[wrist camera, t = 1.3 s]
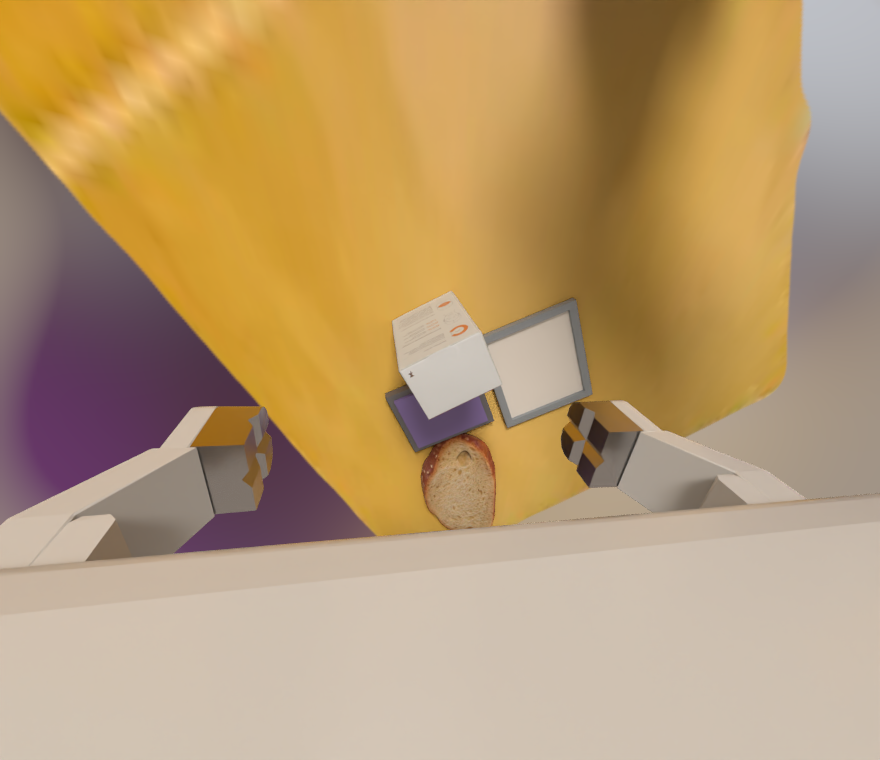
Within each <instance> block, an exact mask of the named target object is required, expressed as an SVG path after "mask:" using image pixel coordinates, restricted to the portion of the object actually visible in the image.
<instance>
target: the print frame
mask: <svg viewBox="0 0 880 760" xmlns="http://www.w3.org/2000/svg"><path fill="white" fill-rule="evenodd" d="M483 337H484V339H485V342H486V344H487V347H488V349H489V352H490V354H491V357H492V359H493V361H494V364H495V366H496V369H497V371H498V374H499V376H500V379H501V381H502V385H501V386H499V387H497V388H495V389H494V392H495V395H496V397H497V400H498V403H499V406H500V409H501V412H502V415H503V417H504V420H505V423H506V426H507V427H508V428H509V427H511V426H514V425H516V424H519V423H521V422H524V421H526V420H529V419H532V418H534V417H537V416H539V415H542V414H544V413H547V412H549V411H552V410H554V409H557V408H559V407H562V406H564V405H567V404H569V403H572V402H574V401H577V400H579V399H582V398H584V397H587V396H589V395H592V388H591V382H590V377H589V371H588V365H587V360H586V354H585V348H584V342H583V337H582V331H581V325H580V319H579V314H578V308H577V302H576V299H574V298H571V299H569V300H566V301H564V302H561V303H559V304H557V305H554V306H552V307H549V308H547V309H544V310H542V311H540V312H537V313H535V314H532V315H530V316H527V317H525V318H523V319H520V320H518V321H515V322H513V323H510V324H508V325H506V326H503V327H501V328H498V329H496V330H493V331H491V332H489V333H486V334H484V335H483Z"/></svg>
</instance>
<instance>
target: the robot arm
mask: <svg viewBox="0 0 880 760" xmlns="http://www.w3.org/2000/svg"><path fill="white" fill-rule="evenodd" d="M567 416H568V418H569V420H570V422H569V423H568V424H567V425H566V426H565V427H564V428H563V431H562V435H561V446H562V450H563V452H564V454H565V456H566V457H567V459H568V460H569V461H571V462H573V463H575V464H576V465H577V470H576V471H577V472H578V474H579V475H580V476H581V478H582V479H583V480H584V482H585V483H586V484H587V486H588V487H589V488H595V487H617V488H618V489H620V490H621V491H622V492H624V493H625V494H627V495H628V496H630V497H631V498H632V499H634V500H635V501H637V502H638V503H640V504H641V505H643V506H644V507H645V508H647V509H648V510H650V511H651V512H653V513H644V514H632V515H621V516H608V517H597V518H585V519H573V520H563V521H562V520H561V521H552V522H551V521H550V522H540V523H539V522H538V523H527V524H516V525H504V526H493V527H481V528H469V529H458V530H446V531H434V532H423V533H411V534H399V535H388V536H376V537H365V538H353V539H342V540H329V541H318V542H306V543H295V544H283V545H271V546H260V547H248V548H236V549H225V550H214V551H201V552H190V553H179V554H173V553H174V552H175V551H177V550H178V549H179V548H180V547H181V546H182V545H183V544H184V543H185V542H187V541H188V540H189V539H190V538H191V537H192V536H193V535H194V534H195V533H196V532H197V531H199V530H200V529H201V528H202V527H203V526H204V525H205V524H206V523H208V522H209V521H210V520H211V519H212V518H213V517H214V514H221V513H232V512H242V511H253V510H256V509H257V507H258V503H259V501H260V498H261V495H262V492H263V489H264V487H263V481H262V479H264V478H265V477H266V476H268V474H269V471H270V468H271V461H272V441H271V437H270V436H269V435H268V434H267V433H266V432H265V430H266V428H267V426H268V423H269V420H268V415H267V410H266V409H265V407H217V406H214V407H213V406H212V407H195V408H192V409H190V411H189V412H188V413H187V414H186V416H185V417H184V418H183V419H182V421H181V422H180V423H179V425H178V426H177V427H176V428H175V430H174V431H173V432H172V433H171V435H170V436H169V437H168V438H167V440H166V441H165V442H164V444H163V445H162V446H161V447H160V448H158V449H150V450H148V451H146V452H144V453H142V454H140V455H138V456H136V457H134V458H132V459H130V460H128V461H125V462H123V463H121V464H119V465H117V466H115V467H113V468H111V469H109V470H107V471H105V472H103V473H101V474H99V475H97V476H95V477H93V478H91V479H89V480H87V481H85V482H82V483H80V484H78V485H76V486H74V487H72V488H70V489H68V490H66V491H64V492H62V493H60V494H58V495H56V496H54V497H52V498H50V499H48V500H45V501H44V502H41V503H39V504H37V505H35V506H33V507H31V508H29V509H27V510H25V511H23V512H21V513H19V514H17V515H15V516H13V517H11V518H9V519H7V520H6V521H5V522H4V523H3V524H2V525H1V526H0V760H880V493H875V494H864V495H853V496H841V497H829V498H818V499H806V498H804V497H803V496H802V495H800V494H799V493H797V492H796V491H795V490H793V489H792V488H790V487H789V486H788V485H786V484H785V483H783V482H782V481H781V480H779V479H778V478H776V477H775V476H774V475H772V474H771V473H769V472H768V471H766V470H764V469H761V468H758V467H756V466H754V465H751V464H749V463H746V462H744V461H741V460H739V459H736V458H734V457H731V456H729V455H726V454H724V453H721V452H719V451H716V450H714V449H711V448H709V447H706V446H704V445H701V444H699V443H696V442H694V441H691V440H689V439H686V438H684V437H681V436H679V435H676V434H674V433H671V432H669V431H662V430H661V429H659V428H658V427H657V426H656V425H655V424H653V423H652V422H651V421H650V420H648V419H647V418H646V417H645V416H644V415H642V414H641V413H640V412H639V411H637V410H636V409H635V408H634V407H633V406H631V405H630V404H629V403H628V402H626V401H623V400H614V401H594V402H574V403H572V405H571V406H570V408H569V411H568V414H567Z"/></svg>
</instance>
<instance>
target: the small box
mask: <svg viewBox="0 0 880 760" xmlns="http://www.w3.org/2000/svg"><path fill="white" fill-rule="evenodd" d="M392 326H393V334H394V341H395V348H396V355H397V362H398V369H399V373H400V374H401V376H402V377H403V379H404V380H405V382H406V383H407V385H408V386H409V388H410V390H411V391H412V393H413V394H414V396H415V398H416V399H417V401H418V402H419V404H420V406H421V407H422V409H423V411H424V412H425V414H426V415H427V417H428V419H432V418H434V417H436V416H438V415H440V414H442V413H444V412H446V411H449V410H451V409H453V408H455V407H457V406H459V405H461V404H463V403H465V402H467V401H469V400H472V399H474V398H476V397H478V396H480V395H482V394H484V393H486V392H488V391H490V390H492V389H495V388H497V387H499V386H501V385H502V381H501V379H500V376H499V374H498V371H497V369H496V366H495V364H494V361H493V359H492V357H491V354H490V352H489V349H488V347H487V344H486V342H485V339H484V337H483V335H482V332H481V331H480V330H479V328H478V327H477V326H476V324H475V323H474V321H473V320H472V319H471V317H470V316H469V314H468V313H467V312H466V310H465V309H464V307H463V306H462V304H461V303H460V301H459V300H458V299H457V297H456V296H455V294H454V293H453V292H452V291H449V292H447V293H446V294H443V295H441V296H439V297H437V298H435V299H433V300H432V301H430V302H428V303H426V304H424V305H422V306H420V307H418V308H416V309H414V310H412V311H410V312H408V313H406V314H404V315H402V316H400V317H398V318H396V319H394V320H393V321H392Z"/></svg>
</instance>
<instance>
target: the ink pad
mask: <svg viewBox="0 0 880 760" xmlns="http://www.w3.org/2000/svg"><path fill="white" fill-rule="evenodd" d="M385 396H386V400H387V402H388V404H389V405H390V407H391V409H392V411H393V413H394V414H395V416H396V418H397V420H398V422H399V424H400V425H401V427H402V429H403V431H404V433H405V434H406V436H407V438H408V440H409V442H410V443H411V445H412V447H413V449H414V451H415V452H417V451H420V450H422V449H425V448H427V447H430V446H432V445H435V444H437V443H440V442H442V441H445V440H447V439H450V438H452V437H455V436H457V435H460V434H462V433H465V432H467V431H470V430H472V429H475V428H477V427H480V426H482V425H485V424H487V423H490V422H492V421H494V419H493V416H492V413H491V411H490V408H489V405H488V403H487V400H486V397H485V395H484V394H482V395H480V396H478V397H476V398H474V399H472V400H469V401H467V402H465V403H463V404H461V405H459V406H457V407H455V408H453V409H451V410H449V411H446V412H444V413H442V414H440V415H438V416H436V417H434V418H432V419H428V417H427V415H426V414H425V412H424V411H423V409H422V407H421V406H420V404H419V402H418V401H417V399H416V398H415V396H414V394H413V393H412V391H411V390H410V388H409V386H408V385H405V386H402V387H400V388H398V389H395V390H393V391H390V392H388V393H385Z"/></svg>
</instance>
